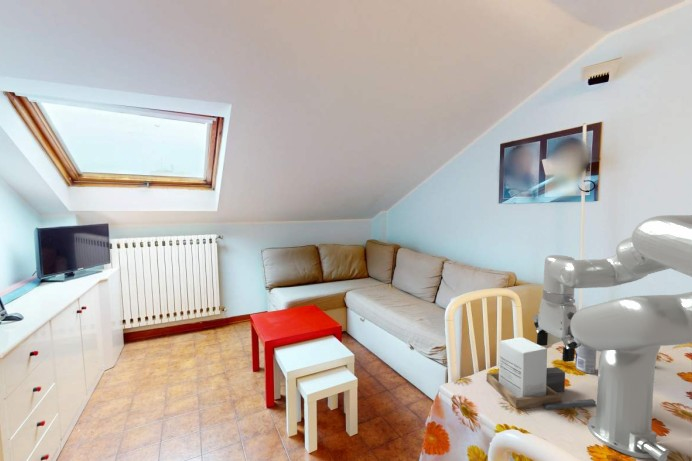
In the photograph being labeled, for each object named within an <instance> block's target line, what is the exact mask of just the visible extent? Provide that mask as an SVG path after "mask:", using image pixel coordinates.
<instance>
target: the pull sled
mask: <svg viewBox="0 0 692 461" xmlns="http://www.w3.org/2000/svg"><path fill="white" fill-rule="evenodd" d="M486 382H487V383H488V385H490V386H491V387H492V388H493V389H495V391H496V392H498V393H499V394H500V395H501V396H502V397H503V398H504V399H505V401H506V402H508V403H509V404H510V405H511V406H512V407H513V408H515V410H516V409H517V410H518V409H526V408H529V409H530V408H535V407H536V408H538V407H540V408H541V407H543V405H544V403H553V402H562V395H561V394H560V393H565V386H566V384H565V383H566V372H565V371H564V370H563V369H560V368H559V367H557V366H556V367H555V366H553V367H547V376H546V395H544V396H532V397H520V398H517V397H515V396H514V395H513V394H512V393H511V392H510V391H509V390H507V389H506V388H505V387H504V386H503V385H502V384H501V383H500V382H499V372H491V373H490V372H489V373H488V372H487V373H486Z"/></svg>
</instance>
